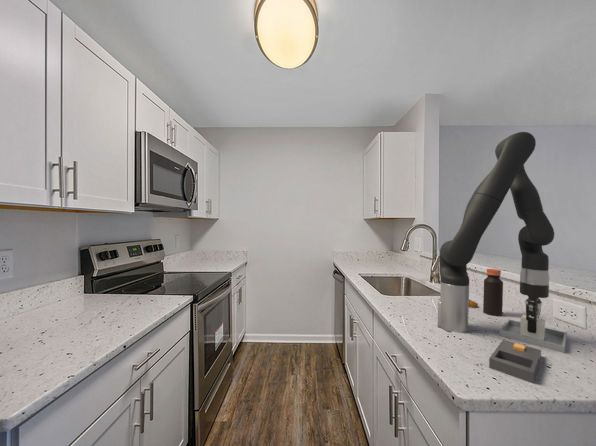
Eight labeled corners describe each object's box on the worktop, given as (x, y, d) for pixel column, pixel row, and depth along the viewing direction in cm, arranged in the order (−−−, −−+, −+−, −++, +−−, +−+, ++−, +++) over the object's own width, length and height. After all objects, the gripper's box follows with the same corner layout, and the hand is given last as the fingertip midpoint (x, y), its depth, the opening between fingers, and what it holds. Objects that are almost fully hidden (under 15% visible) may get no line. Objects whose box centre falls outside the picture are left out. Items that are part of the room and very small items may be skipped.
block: (520, 334, 91) (520, 317, 91) (522, 331, 94) (522, 314, 94) (543, 340, 87) (544, 322, 87) (544, 336, 90) (545, 319, 90)
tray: (499, 336, 91) (499, 329, 91) (508, 325, 102) (508, 319, 102) (564, 354, 79) (564, 346, 79) (566, 339, 90) (566, 332, 90)
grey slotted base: (489, 367, 71) (489, 355, 71) (502, 347, 83) (503, 336, 83) (533, 383, 65) (533, 369, 64) (541, 358, 77) (541, 347, 77)
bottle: (481, 314, 114) (482, 269, 114) (485, 311, 119) (486, 267, 118) (500, 318, 109) (501, 271, 109) (503, 315, 113) (505, 270, 113)
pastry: (477, 306, 127) (477, 298, 127) (477, 309, 121) (477, 301, 121) (455, 302, 132) (455, 294, 132) (454, 305, 126) (454, 298, 126)
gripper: (523, 277, 98) (521, 322, 98) (516, 282, 88) (515, 332, 89) (550, 281, 92) (549, 328, 93) (547, 287, 83) (545, 340, 83)
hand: (532, 330), depth 91 cm, fingers closed on block, 4 cm apart
